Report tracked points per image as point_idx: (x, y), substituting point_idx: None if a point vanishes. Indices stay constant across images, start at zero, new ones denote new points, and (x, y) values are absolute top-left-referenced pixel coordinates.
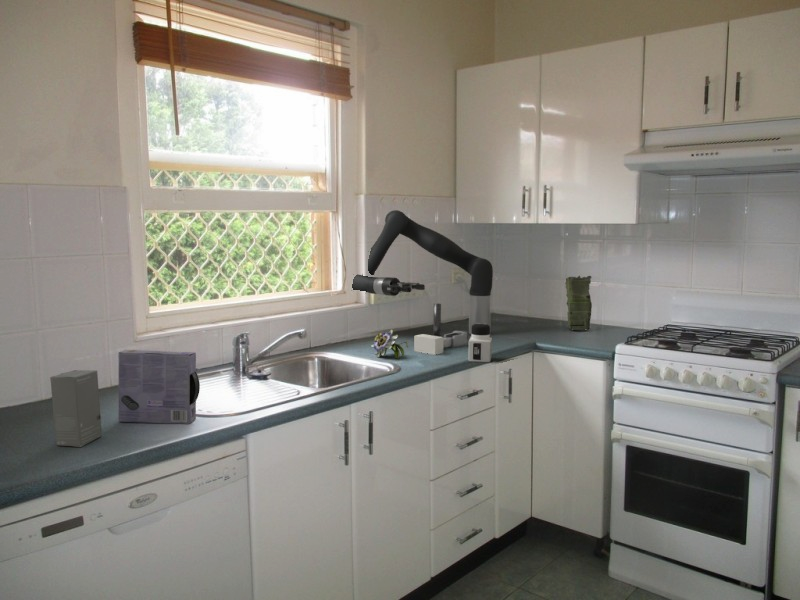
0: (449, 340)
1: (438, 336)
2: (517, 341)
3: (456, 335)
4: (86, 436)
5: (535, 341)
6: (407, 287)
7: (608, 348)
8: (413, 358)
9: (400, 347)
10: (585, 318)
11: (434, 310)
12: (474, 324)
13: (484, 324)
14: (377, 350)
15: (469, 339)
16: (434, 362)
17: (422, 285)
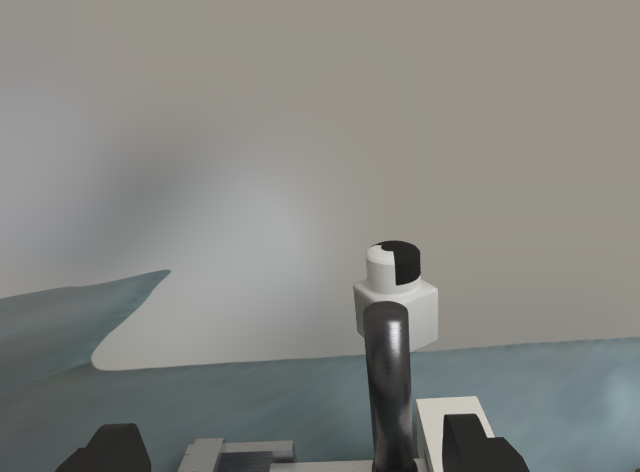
0: (314, 467)
1: (422, 421)
2: (73, 399)
3: (268, 446)
4: None
5: (65, 370)
6: (493, 464)
7: (130, 277)
8: (608, 466)
9: None
10: None
11: (409, 347)
12: (407, 252)
13: (388, 242)
14: None
15: (425, 294)
16: (548, 381)
17: (124, 444)
